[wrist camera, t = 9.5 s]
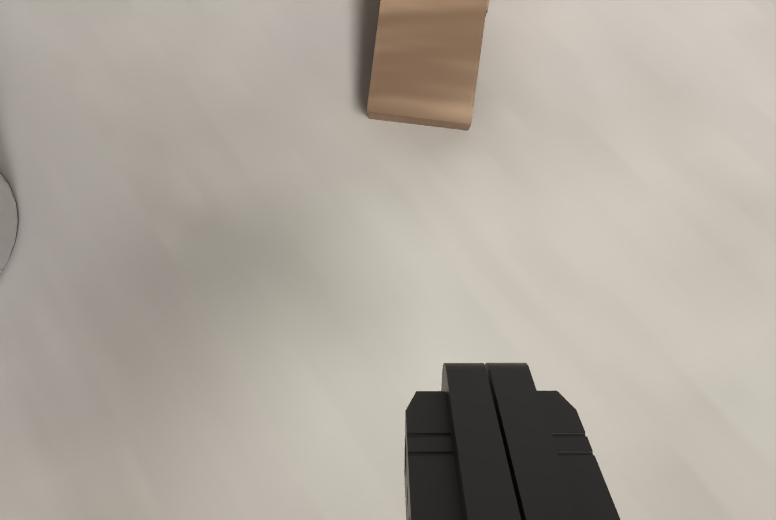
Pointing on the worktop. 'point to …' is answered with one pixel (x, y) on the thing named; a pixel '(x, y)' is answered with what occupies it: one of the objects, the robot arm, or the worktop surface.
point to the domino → (426, 62)
